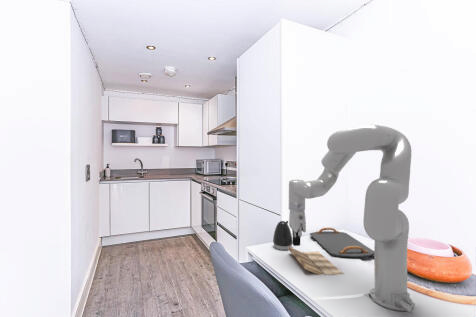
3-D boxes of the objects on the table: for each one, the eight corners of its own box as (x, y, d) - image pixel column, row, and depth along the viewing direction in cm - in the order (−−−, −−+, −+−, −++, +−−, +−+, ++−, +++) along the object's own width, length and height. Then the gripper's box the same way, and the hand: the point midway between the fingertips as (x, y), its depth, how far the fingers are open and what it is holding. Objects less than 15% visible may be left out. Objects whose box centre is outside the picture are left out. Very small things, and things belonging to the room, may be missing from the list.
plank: (322, 276, 99) (323, 273, 99) (305, 269, 98) (306, 266, 98) (302, 254, 121) (303, 252, 121) (288, 248, 120) (289, 246, 120)
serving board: (381, 261, 114) (381, 248, 114) (333, 263, 113) (333, 249, 113) (343, 235, 152) (343, 225, 152) (307, 236, 152) (306, 226, 152)
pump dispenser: (296, 249, 129) (296, 220, 129) (285, 254, 122) (285, 224, 121) (280, 244, 136) (279, 217, 136) (269, 249, 129) (269, 221, 128)
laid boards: (344, 276, 99) (344, 273, 99) (325, 278, 98) (325, 275, 98) (318, 253, 123) (318, 251, 123) (302, 254, 122) (302, 252, 122)
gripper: (311, 209, 106) (310, 251, 106) (298, 202, 121) (298, 239, 121) (294, 210, 105) (294, 252, 105) (284, 203, 120) (283, 239, 120)
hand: (296, 245), depth 113 cm, fingers closed
